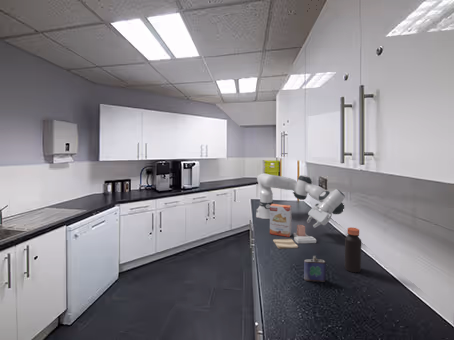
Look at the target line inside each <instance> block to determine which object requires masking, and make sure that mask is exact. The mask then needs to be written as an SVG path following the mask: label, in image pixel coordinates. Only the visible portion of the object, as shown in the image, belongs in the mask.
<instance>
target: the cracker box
mask: <svg viewBox="0 0 454 340" xmlns="http://www.w3.org/2000/svg"><path fill="white" fill-rule="evenodd" d="M269 235H274V236H280V237H287V238H290V237H291V236H292V205H289V204H277V203H273V204H271V205H270V219H269Z"/></svg>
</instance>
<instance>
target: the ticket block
mask: <svg viewBox="0 0 454 340" xmlns="http://www.w3.org/2000/svg"><path fill="white" fill-rule="evenodd" d="M296 233H297V235H298V236H305V233H306V226H305V225H303V224H297V225H296Z"/></svg>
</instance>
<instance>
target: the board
mask: <svg viewBox="0 0 454 340" xmlns="http://www.w3.org/2000/svg"><path fill="white" fill-rule="evenodd" d="M272 241H273V243H274V244H275V246H276V247H277V248H278V249H279V250H280V249H298V248H299V246H298V243H297V242H296V241H295V240H294V239H292V238H279V239H278V238H275V239H273V240H272ZM296 243H297V244H296Z"/></svg>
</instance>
